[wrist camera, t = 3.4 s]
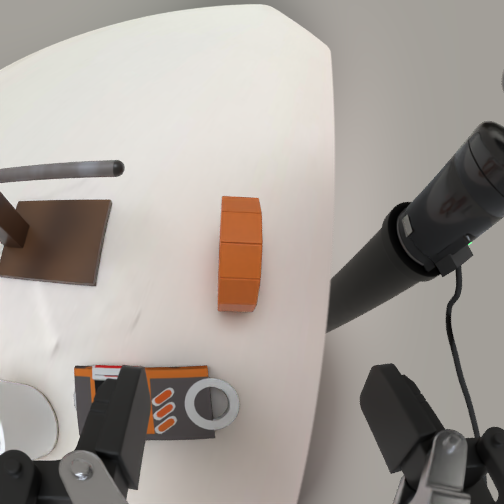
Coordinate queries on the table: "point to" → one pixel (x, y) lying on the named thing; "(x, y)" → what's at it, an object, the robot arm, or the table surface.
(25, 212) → the hook stand
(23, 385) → the mug
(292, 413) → the table surface
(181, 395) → the electronic device
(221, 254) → the tape roll
